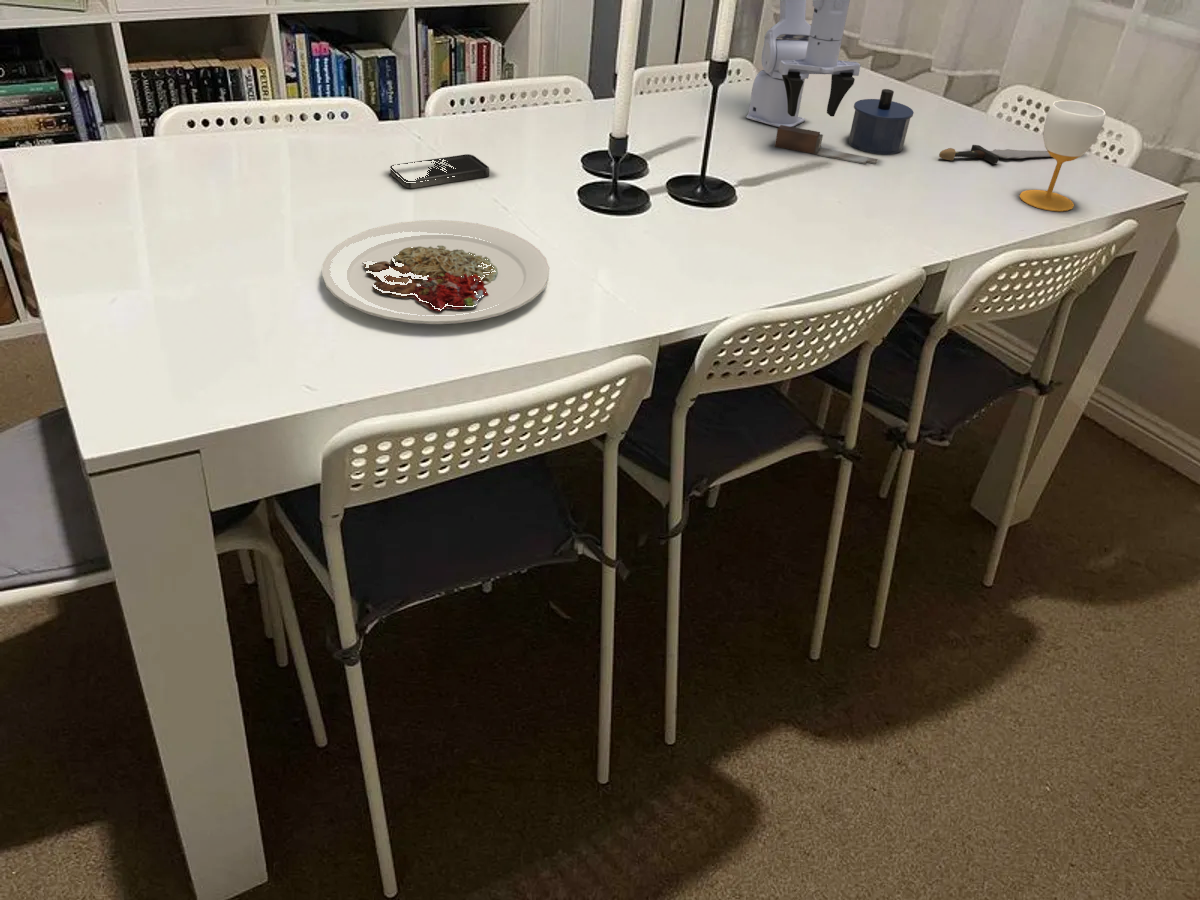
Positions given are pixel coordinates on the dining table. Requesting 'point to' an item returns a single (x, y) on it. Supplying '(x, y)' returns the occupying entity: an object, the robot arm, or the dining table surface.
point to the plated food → (443, 272)
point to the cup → (1065, 146)
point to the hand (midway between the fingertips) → (810, 114)
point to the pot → (877, 134)
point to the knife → (812, 144)
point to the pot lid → (884, 107)
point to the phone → (448, 171)
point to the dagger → (991, 154)
